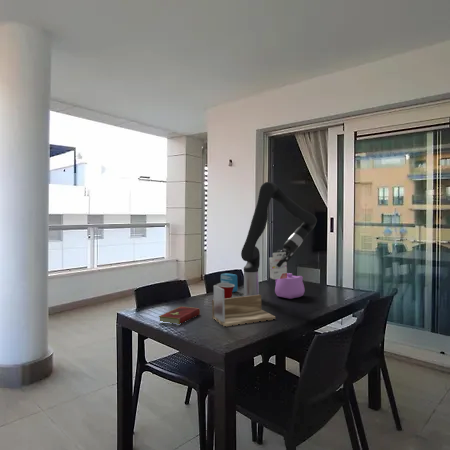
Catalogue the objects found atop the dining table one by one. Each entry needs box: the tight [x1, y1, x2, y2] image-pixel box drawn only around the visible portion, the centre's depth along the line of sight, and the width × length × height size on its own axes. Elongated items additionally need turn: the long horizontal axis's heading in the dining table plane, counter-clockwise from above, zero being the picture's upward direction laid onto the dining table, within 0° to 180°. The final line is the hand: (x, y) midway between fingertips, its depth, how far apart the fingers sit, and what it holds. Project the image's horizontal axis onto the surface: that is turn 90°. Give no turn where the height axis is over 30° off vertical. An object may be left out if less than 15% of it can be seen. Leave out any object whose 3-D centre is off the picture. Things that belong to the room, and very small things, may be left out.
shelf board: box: [211, 294, 276, 327], centre depth 185 cm, size 16×28×10 cm, turn 112°
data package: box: [220, 273, 239, 293], centre depth 253 cm, size 12×4×12 cm, turn 48°
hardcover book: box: [158, 306, 201, 324], centre depth 187 cm, size 12×21×4 cm, turn 156°
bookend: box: [213, 284, 225, 322], centre depth 180 cm, size 12×1×16 cm, turn 22°
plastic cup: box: [216, 282, 235, 299], centre depth 217 cm, size 11×11×12 cm
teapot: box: [274, 272, 306, 300], centre depth 237 cm, size 23×21×15 cm
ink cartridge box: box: [269, 252, 288, 280], centre depth 203 cm, size 9×5×15 cm, turn 105°
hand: (275, 265), depth 202 cm, fingers closed on ink cartridge box, 5 cm apart
